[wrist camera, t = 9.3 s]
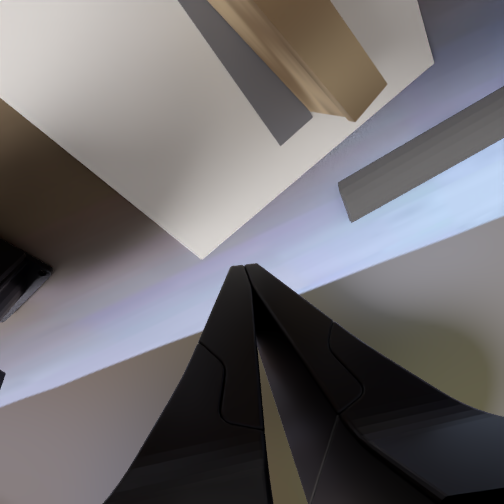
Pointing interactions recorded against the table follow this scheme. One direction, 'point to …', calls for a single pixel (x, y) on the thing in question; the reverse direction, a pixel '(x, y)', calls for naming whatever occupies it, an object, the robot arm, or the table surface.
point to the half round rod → (424, 156)
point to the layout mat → (185, 101)
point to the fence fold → (308, 52)
